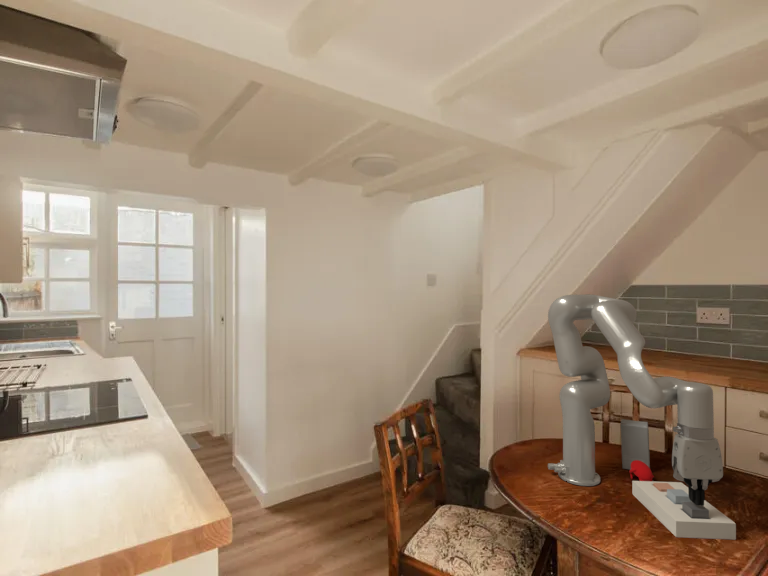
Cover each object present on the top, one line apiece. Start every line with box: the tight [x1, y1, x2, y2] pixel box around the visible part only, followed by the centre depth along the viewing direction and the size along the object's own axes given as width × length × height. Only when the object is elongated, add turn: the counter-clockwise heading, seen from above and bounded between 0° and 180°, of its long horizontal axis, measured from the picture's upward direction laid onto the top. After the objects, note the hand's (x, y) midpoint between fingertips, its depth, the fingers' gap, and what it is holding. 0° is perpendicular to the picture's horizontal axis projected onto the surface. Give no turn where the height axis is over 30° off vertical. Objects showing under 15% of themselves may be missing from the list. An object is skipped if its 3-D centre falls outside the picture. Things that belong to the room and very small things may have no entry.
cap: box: [629, 460, 655, 481], centre depth 136 cm, size 8×6×6 cm
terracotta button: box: [653, 483, 674, 492], centre depth 123 cm, size 4×4×3 cm
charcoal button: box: [682, 502, 709, 519], centre depth 109 cm, size 4×4×3 cm
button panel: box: [631, 480, 737, 541], centre depth 116 cm, size 14×22×4 cm, turn 175°
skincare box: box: [620, 418, 651, 471], centre depth 146 cm, size 8×7×16 cm
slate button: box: [667, 489, 691, 504], centre depth 116 cm, size 4×4×3 cm
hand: (696, 502), depth 109 cm, fingers closed
